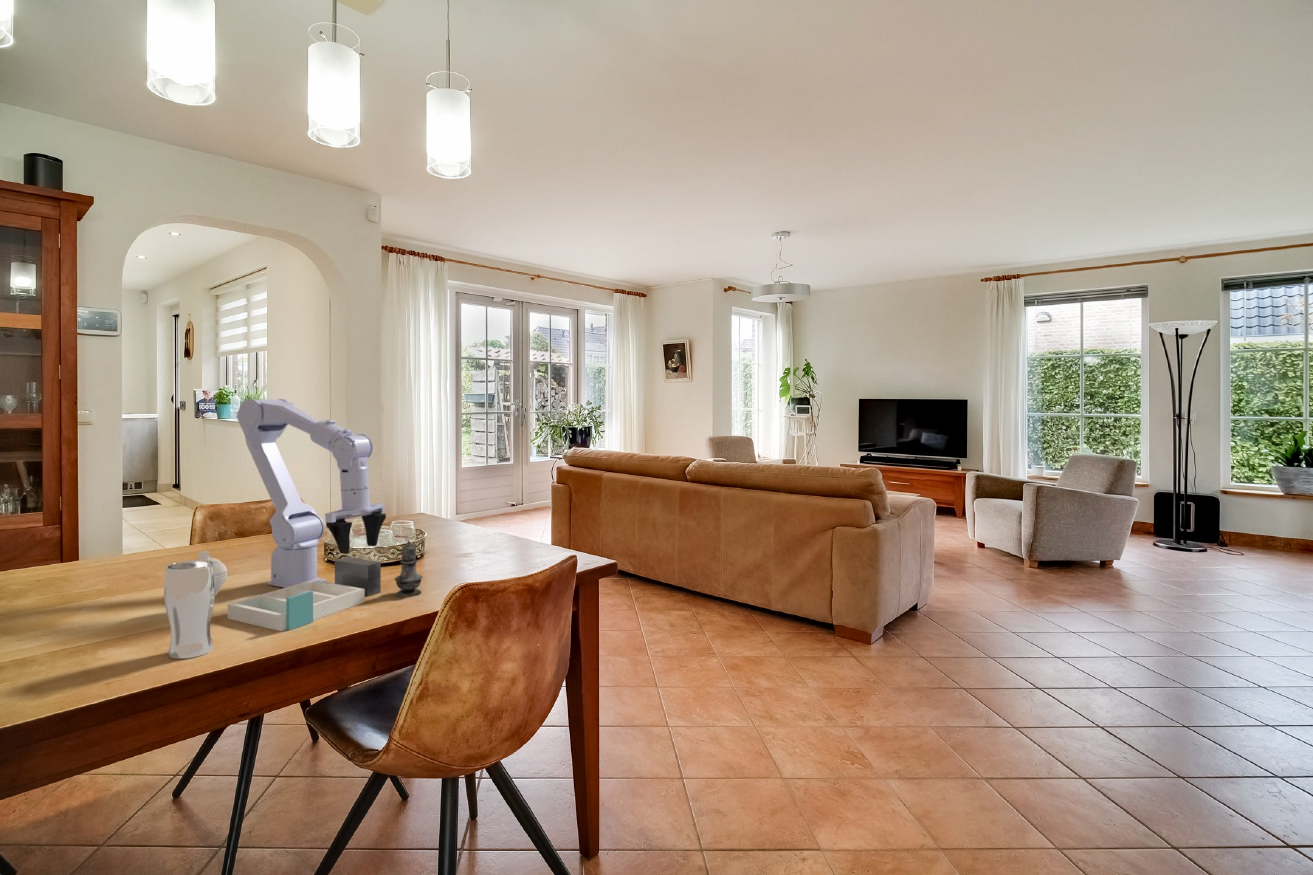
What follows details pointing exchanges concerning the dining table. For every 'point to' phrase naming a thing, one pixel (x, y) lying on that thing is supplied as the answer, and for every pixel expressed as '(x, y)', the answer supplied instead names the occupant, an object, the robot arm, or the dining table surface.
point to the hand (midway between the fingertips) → (358, 549)
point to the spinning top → (215, 569)
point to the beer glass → (189, 607)
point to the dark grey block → (359, 574)
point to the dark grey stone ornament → (408, 573)
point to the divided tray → (295, 605)
